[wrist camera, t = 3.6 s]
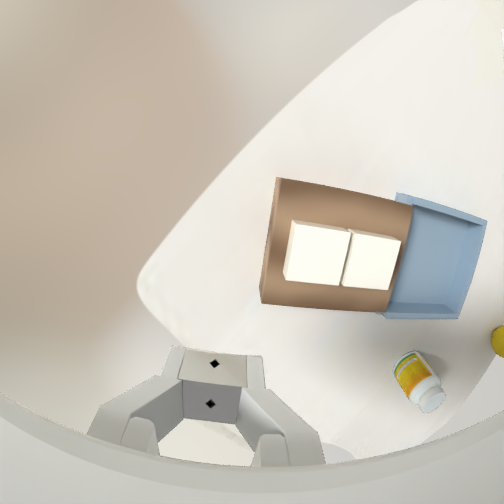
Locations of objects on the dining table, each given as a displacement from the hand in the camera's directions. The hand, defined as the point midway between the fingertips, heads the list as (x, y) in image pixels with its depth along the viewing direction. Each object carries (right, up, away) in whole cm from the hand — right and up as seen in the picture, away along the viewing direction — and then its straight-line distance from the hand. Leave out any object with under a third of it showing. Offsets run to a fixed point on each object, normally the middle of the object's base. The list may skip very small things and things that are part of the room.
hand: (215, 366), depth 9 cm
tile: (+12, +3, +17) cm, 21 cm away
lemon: (+48, -11, +27) cm, 56 cm away
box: (+24, +3, +22) cm, 32 cm away
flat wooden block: (+10, +5, +21) cm, 23 cm away
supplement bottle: (+25, -13, +27) cm, 39 cm away
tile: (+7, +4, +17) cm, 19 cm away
